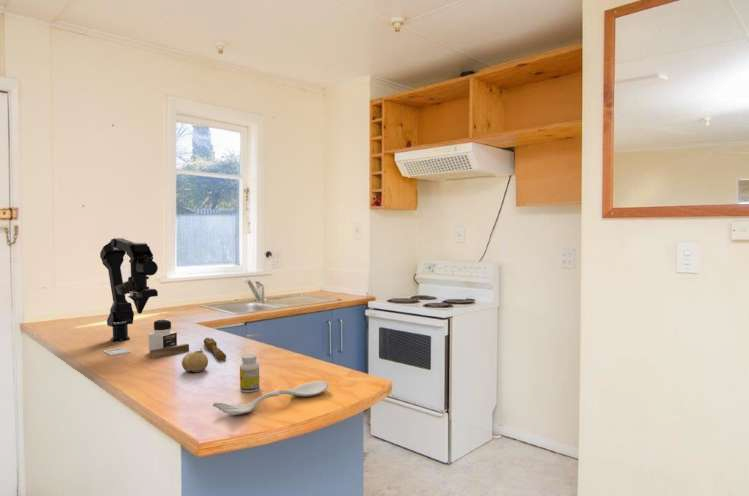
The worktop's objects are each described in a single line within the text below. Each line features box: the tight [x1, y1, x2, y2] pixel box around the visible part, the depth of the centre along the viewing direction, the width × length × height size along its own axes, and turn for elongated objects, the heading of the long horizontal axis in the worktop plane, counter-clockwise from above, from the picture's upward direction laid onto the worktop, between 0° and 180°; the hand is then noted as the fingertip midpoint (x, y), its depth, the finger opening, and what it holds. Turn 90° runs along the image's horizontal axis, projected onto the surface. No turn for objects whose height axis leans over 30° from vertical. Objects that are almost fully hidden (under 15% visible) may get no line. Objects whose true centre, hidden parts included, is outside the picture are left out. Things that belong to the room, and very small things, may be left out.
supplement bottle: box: [239, 354, 261, 394], centre depth 142 cm, size 5×5×10 cm
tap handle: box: [203, 337, 227, 362], centre depth 187 cm, size 3×3×30 cm
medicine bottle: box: [148, 318, 178, 354], centre depth 188 cm, size 7×7×12 cm
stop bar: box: [149, 343, 190, 359], centre depth 184 cm, size 2×14×2 cm, turn 141°
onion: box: [181, 348, 209, 374], centre depth 162 cm, size 8×8×7 cm
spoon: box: [212, 380, 329, 416], centre depth 131 cm, size 9×32×4 cm, turn 134°
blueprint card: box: [102, 347, 131, 356], centre depth 188 cm, size 10×7×1 cm
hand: (139, 313), depth 197 cm, fingers closed
